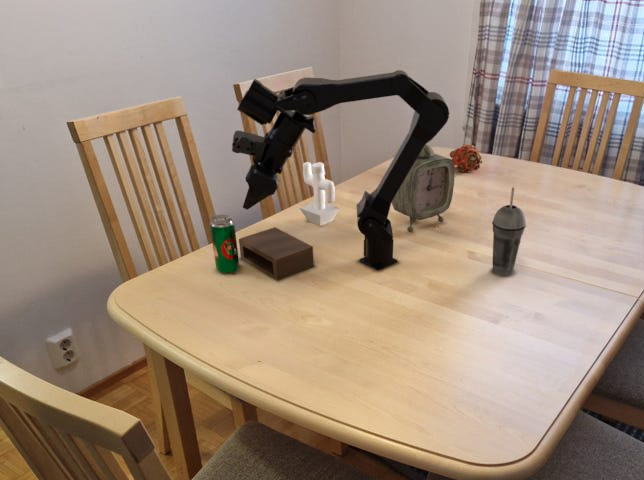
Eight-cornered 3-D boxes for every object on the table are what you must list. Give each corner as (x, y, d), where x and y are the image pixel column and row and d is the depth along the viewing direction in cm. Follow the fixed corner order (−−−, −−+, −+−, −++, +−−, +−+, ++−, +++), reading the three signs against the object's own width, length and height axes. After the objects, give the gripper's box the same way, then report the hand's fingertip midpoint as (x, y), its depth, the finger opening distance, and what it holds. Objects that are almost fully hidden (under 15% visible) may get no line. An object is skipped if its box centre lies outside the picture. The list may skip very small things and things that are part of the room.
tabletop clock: (409, 237, 160) (414, 134, 146) (386, 225, 165) (388, 125, 151) (450, 223, 168) (459, 124, 154) (427, 212, 174) (432, 116, 159)
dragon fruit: (478, 181, 200) (449, 176, 207) (492, 160, 201) (463, 156, 209) (467, 161, 193) (438, 158, 201) (482, 140, 195) (452, 137, 203)
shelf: (313, 266, 145) (313, 246, 142) (277, 280, 139) (276, 259, 136) (276, 246, 153) (275, 227, 150) (240, 259, 147) (238, 238, 144)
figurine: (323, 230, 161) (321, 171, 153) (297, 220, 166) (293, 162, 158) (343, 222, 166) (342, 164, 158) (317, 212, 171) (314, 156, 162)
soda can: (218, 264, 144) (210, 213, 138) (241, 264, 145) (235, 213, 138) (214, 274, 140) (207, 223, 133) (238, 274, 141) (232, 223, 134)
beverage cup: (521, 267, 148) (534, 183, 137) (515, 281, 143) (528, 194, 131) (490, 262, 150) (500, 178, 139) (483, 275, 144) (493, 189, 133)
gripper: (252, 103, 135) (219, 165, 142) (240, 128, 120) (204, 196, 127) (298, 133, 139) (264, 192, 146) (293, 161, 124) (255, 225, 131)
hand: (247, 200), depth 137 cm, fingers open, 9 cm apart
